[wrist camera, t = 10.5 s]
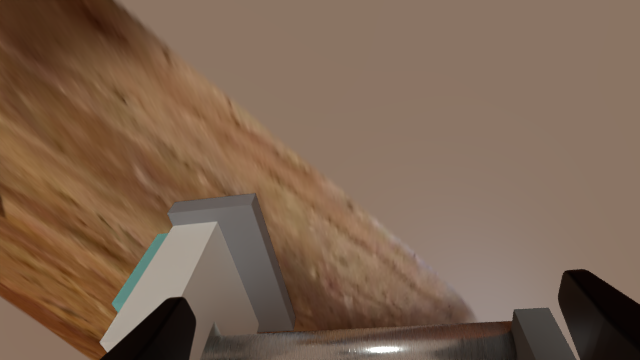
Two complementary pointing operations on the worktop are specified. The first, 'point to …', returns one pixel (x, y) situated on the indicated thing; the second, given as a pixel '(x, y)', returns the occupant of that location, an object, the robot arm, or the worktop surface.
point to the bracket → (213, 273)
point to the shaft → (406, 342)
